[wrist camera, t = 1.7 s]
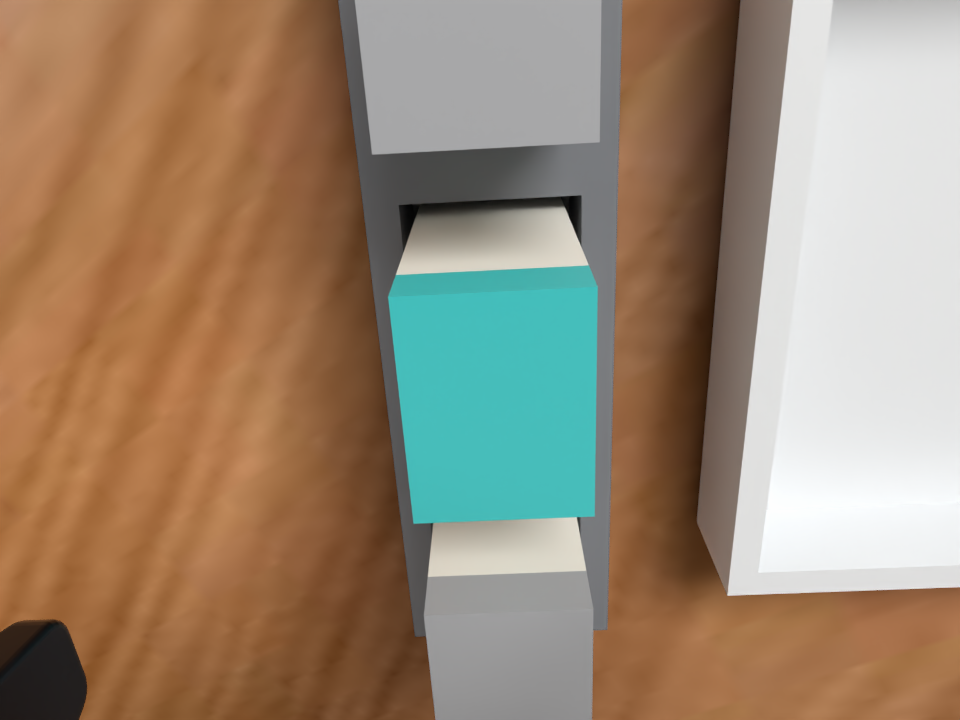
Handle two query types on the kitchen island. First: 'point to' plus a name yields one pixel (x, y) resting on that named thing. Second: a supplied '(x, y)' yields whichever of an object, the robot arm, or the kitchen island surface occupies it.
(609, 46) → the fuse holder
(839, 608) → the kitchen island surface
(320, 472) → the kitchen island surface
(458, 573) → the fuse
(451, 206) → the block
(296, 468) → the kitchen island surface
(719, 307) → the tray
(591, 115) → the block
